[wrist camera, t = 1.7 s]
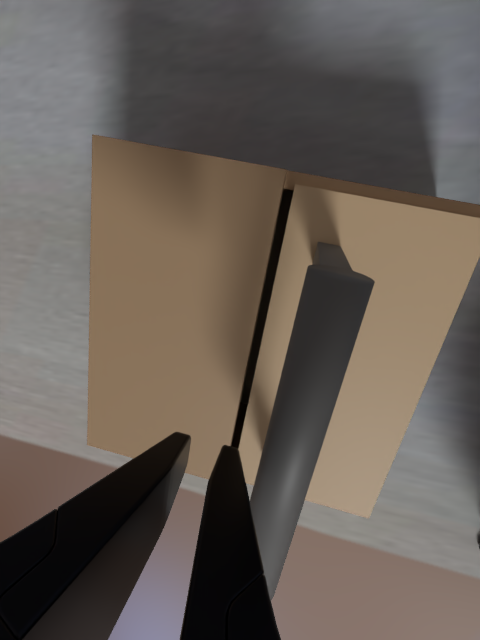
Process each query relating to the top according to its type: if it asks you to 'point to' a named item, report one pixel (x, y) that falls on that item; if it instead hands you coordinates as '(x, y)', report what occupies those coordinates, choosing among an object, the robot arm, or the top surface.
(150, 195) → the kraft carton
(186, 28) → the top surface
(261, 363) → the carton flap
